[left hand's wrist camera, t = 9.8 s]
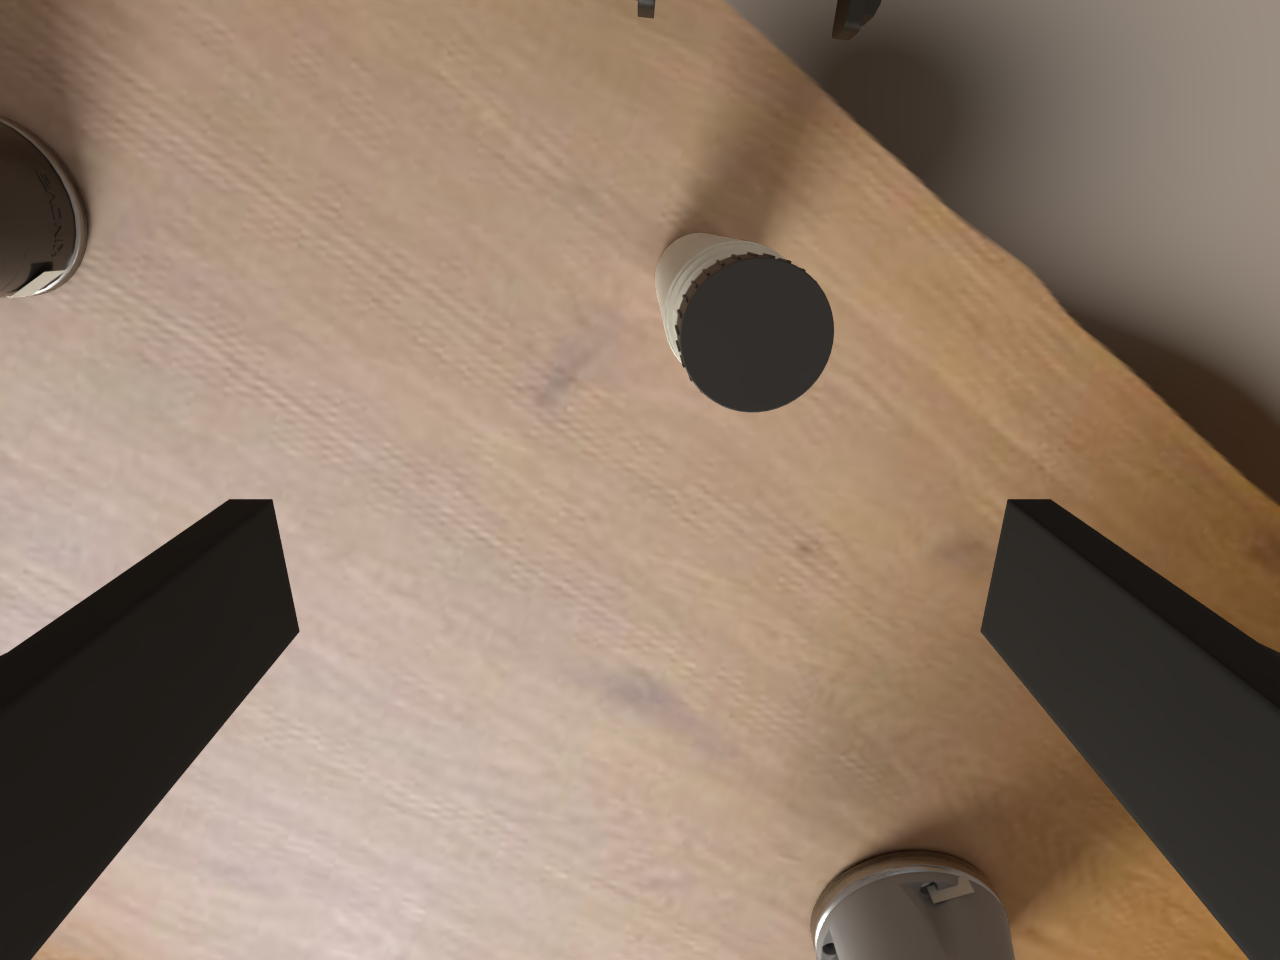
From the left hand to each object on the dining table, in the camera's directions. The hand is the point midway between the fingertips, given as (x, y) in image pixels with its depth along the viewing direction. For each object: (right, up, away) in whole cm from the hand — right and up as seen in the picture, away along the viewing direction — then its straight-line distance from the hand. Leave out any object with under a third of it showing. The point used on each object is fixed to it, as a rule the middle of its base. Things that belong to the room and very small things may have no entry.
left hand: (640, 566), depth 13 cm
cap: (+3, +6, +7) cm, 10 cm away
